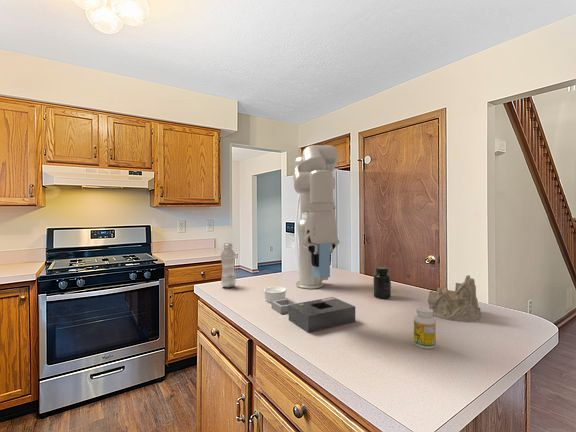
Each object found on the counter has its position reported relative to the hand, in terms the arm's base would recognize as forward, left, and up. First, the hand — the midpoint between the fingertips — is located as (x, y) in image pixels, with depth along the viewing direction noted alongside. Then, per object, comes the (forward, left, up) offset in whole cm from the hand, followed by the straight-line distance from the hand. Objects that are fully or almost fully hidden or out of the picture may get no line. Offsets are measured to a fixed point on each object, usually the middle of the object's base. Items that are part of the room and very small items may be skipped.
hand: (321, 264), depth 102 cm
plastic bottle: (+13, -56, -19) cm, 60 cm away
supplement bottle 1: (-37, -10, -19) cm, 43 cm away
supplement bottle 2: (-14, +28, -19) cm, 37 cm away
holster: (+5, -16, -18) cm, 25 cm away
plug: (0, 0, -4) cm, 4 cm away
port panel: (0, 0, -18) cm, 18 cm away
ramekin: (+3, -28, -19) cm, 34 cm away
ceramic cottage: (-45, +17, -19) cm, 51 cm away
